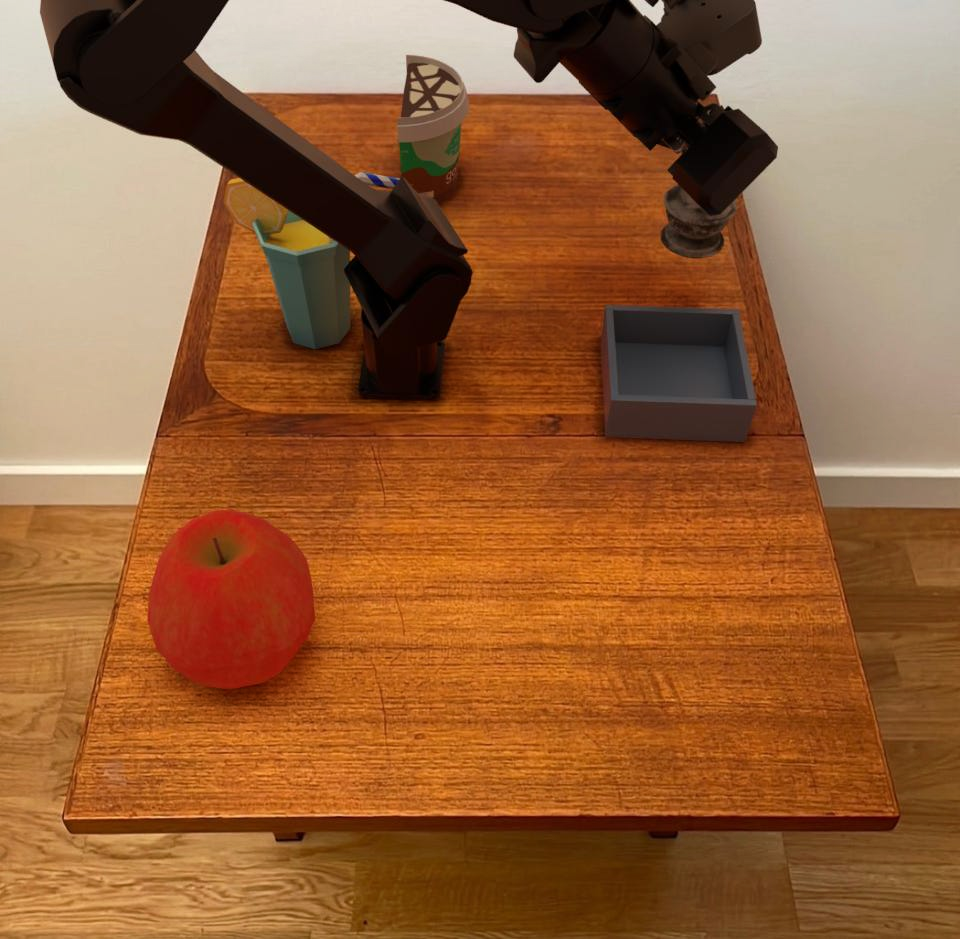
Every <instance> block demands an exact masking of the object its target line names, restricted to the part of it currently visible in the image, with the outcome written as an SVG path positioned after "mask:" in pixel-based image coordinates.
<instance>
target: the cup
mask: <svg viewBox="0 0 960 939" xmlns="http://www.w3.org/2000/svg"><path fill="white" fill-rule="evenodd" d="M353 175H354V174H353ZM354 176H356V177H357V178H358V179H360V180H361V181H362V182H364V183H365V184H367V185H368V186H369V187H376V188H383V189H388V190H393V188H394V187H395V185H396V184H397V182H398V181H399V179H400V178H398V177H394V176H393V177H392V176H387V175H382V174H376V173H369V172H363V171H360V172H358V173H356V174H355V175H354ZM222 203H223V205H224V206H225V208H226V209H227V211H228V213H229V214H230V216H231V217H232V219H233V220H234V222H235V223H236V225H239V226H241V227H242V228H244V229H246V230H247V231H250V232H252V233H254V234H255V236H256V238H257V241H258V242H259V245H260V247H261V249H262V251H263V254H264V256H265V259H266V262H267V266H268V268H269V272H270V275H271V278H272V282H273V285H274V289H275V291H276V292H275V293H276V295H277V298H278V302H279V305H280V308H281V312H282V315H283V318H284V321H285V325H286V328H287V331H288V333H289V335H290V338H291V340H292V342H293V344H296V345H300V346H303V347H305V348H310V349H312V350H318V349H322V348H326V347H330V346H335V345H338V344H340V343H341V341H342V340H343V339H344V338H345V336H346V335H347V334H348V332H349V331H350V330H351V285H350V283H349V281H348V279H347V277H346V275H345V273H344V268H345V267H346V266H347V265H348V263H349V262H350V261H351V251H350V250H348V249H347V248H345V247H344V246H342V245H341V244H339V243H338V242H336V241H334V240H333V239H331V238H330V237H328V236H327V235H325V234H324V233H322V232H321V231H319V230H318V229H316V228H315V227H313V226H312V225H310V224H309V223H307V222H306V221H304V220H303V219H301V218H300V217H298V216H297V215H295V214H293V213H292V212H290V211H289V210H287V209H286V208H284V207H283V206H281V205H280V204H278V203H277V202H275V201H274V200H272V199H271V198H269V197H268V196H266V195H265V194H263V193H262V192H260V191H259V190H257V189H256V188H254V187H252V186H251V185H249V184H248V183H246V182H245V181H243V180H242V179H240V178H239V177H237V178H232V179H230V180H229V181H228V182H227V183H226V187H225V191H224V196H223V201H222Z"/></svg>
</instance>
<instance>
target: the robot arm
mask: <svg viewBox="0 0 960 939" xmlns="http://www.w3.org/2000/svg"><path fill="white" fill-rule="evenodd" d="M229 1H230V0H40V4H39V15H40V19H41V22H42V26H43V31H44V34H45V37H46V41H47V45H48V49H49V53H50V57H51V61H52V64H53V68H54V72H55V76H56V79H57V81H58V84H59V86H60V89H61V90H62V92H63V93H64V94H65V95H66V97H67V98H68V99H69V100H70V101H71V102H73V104H75V105H76V106H77V107H79V108H80V109H82V110H83V111H86V112H88V113H89V114H91V115H94V116H96V117H99V118H101V119H103V120H105V121H107V122H110V123H112V124H115V125H117V126H119V127H120V128H121V127H122V128H124V129H126V130H128V131H131V132H133V133H135V134H137V135H140V136H145V137H152V138H153V137H154V138H160V139H167V140H173V141H179V142H182V143H184V144H187V145H189V146H190V147H191V148H193V149H195V150H196V151H198V152H199V153H200V154H203V155H204V156H205V157H207V158H209V159H210V160H211V161H213V162H215V163H216V164H217V165H219V166H221V167H222V168H223V169H225V170H226V171H228V172H229V173H231V174H233V175H234V176H235V177H237V178H240V179H242V180H243V181H245V182H246V183H248V184H249V185H251V186H252V187H254V188H256V189H257V190H259V191H260V192H262V193H263V194H265V195H266V196H268V197H269V198H271V199H272V200H274V201H275V202H277V203H278V204H280V205H281V206H283V207H284V208H286V209H287V210H289V211H290V212H292V213H293V214H295V215H297V216H298V217H300V218H301V219H303V220H304V221H306V222H307V223H309V224H310V225H312V226H313V227H315V228H316V229H318V230H319V231H321V232H322V233H324V234H325V235H327V236H328V237H330V238H331V239H333V240H334V241H336V242H338V243H339V244H341V245H342V246H344V247H345V248H347V249H348V250H350V253H351V254H353V257H352V258H351V259H350V262H349V263H348V265H347V266H346V267H345V268H344V273H345V275H346V277H347V279H348V281H349V283H350V288H351V289H352V291H353V293H354V295H355V297H356V299H357V301H358V303H359V306H360V307H361V312H360V319H361V328H362V336H363V338H362V339H363V346H364V347H363V348H364V352H363V358H362V364H361V370H360V375H359V381H358V386H357V387H358V388H357V394H358V396H359V398H366V399H387V400H388V399H389V400H390V399H391V400H393V399H394V400H415V401H416V400H417V401H418V400H419V401H437V400H439V399H440V398H441V394H442V382H443V372H444V361H445V350H446V344H445V340H446V339H447V338H448V335H449V332H450V330H451V327H452V324H453V322H454V319H455V316H456V314H457V312H458V310H459V307H460V304H461V301H462V300H463V299H464V297H465V296H466V295H467V294H468V291H469V289H470V287H471V284H472V276H473V275H474V273H473V269H472V266H471V265H470V263H469V261H468V260H467V258H466V257H465V255H466V254H467V253H468V252H469V251H468V248H467V247H466V245H465V244H464V242H463V241H462V239H461V238H460V236H459V234H458V233H457V232H456V230H455V228H454V227H453V225H452V223H451V222H450V220H449V219H448V218H447V216H446V214H445V212H444V211H443V210H442V208H441V206H440V205H439V202H436V200H435V199H430V198H426V197H424V196H422V195H420V194H419V193H417V192H416V191H415V190H414V189H413V187H412V186H411V185H410V184H409V183H408V181H407V180H406V179H405V178H404V177H400V178H398V179H399V181H398V182H397V184H396V185H395V187H394V188H393V189H391V190H383V189H376V188H374V187H372V186H369V185H367V184H365V183H364V182H362V181H361V180H360V179H358V178H357V177H356V176H354V174H353V173H352V172H351V171H349V170H348V169H346V168H345V167H344V166H342V165H341V164H340V163H338V162H337V161H336V160H334V159H333V158H331V157H330V156H329V155H327V154H326V153H325V152H324V151H322V150H321V149H319V148H318V147H317V146H315V145H314V144H313V143H311V142H310V141H309V140H307V139H306V138H305V137H303V136H302V135H300V134H299V133H298V132H296V131H295V130H294V129H293V128H291V127H289V126H288V124H286V123H284V122H283V121H282V120H280V119H279V118H277V117H276V116H275V115H273V114H272V113H271V112H270V111H268V110H267V109H266V108H264V107H263V106H262V105H260V104H258V103H257V102H256V101H254V100H253V98H251V97H249V96H248V95H246V94H245V93H244V92H243V91H242V90H240V89H239V88H237V87H236V86H234V85H233V84H232V83H230V82H229V81H227V79H226V78H223V77H222V76H221V75H219V74H218V73H217V72H216V71H214V70H213V69H212V68H211V67H210V66H209V65H208V64H207V62H206V61H205V60H204V59H203V57H202V56H201V55H200V54H199V52H197V49H198V47H199V46H200V45H201V43H202V41H203V40H204V38H205V37H206V35H207V34H208V32H209V30H210V29H211V28H212V27H213V25H214V23H215V22H216V21H217V18H218V17H219V16H220V15H221V13H222V11H224V8H225V7H226V6H227V4H228V3H229ZM443 1H444V2H447V3H451V4H454V5H456V6H458V7H461V8H463V9H465V10H467V11H469V12H471V13H473V14H476V15H478V16H480V17H482V18H485V19H486V20H489V21H491V22H495V23H498V24H502V25H505V26H509V27H512V28H515V29H516V33H517V39H516V42H515V43H514V44H515V45H514V51H513V58H514V59H515V61H516V62H517V63H518V64H519V65H520V66H521V67H522V69H523V70H524V71H525V72H526V73H527V74H528V76H529V77H530V78H531V79H532V80H533V81H534V82H535V83H536V84H541V83H543V82H544V81H545V80H546V78H547V77H548V76H549V75H550V74H551V73H552V72H553V71H554V69H555V68H556V67H557V66H558V64H560V65H562V67H563V68H564V69H565V70H566V71H567V72H569V73H570V74H571V75H572V76H573V77H574V78H575V80H577V81H578V83H579V85H580V86H581V87H582V88H584V90H585V91H586V92H588V94H589V95H590V96H591V97H592V98H593V99H594V100H595V101H596V102H597V103H598V104H599V105H600V106H601V107H602V108H603V109H604V110H605V111H608V112H609V113H610V114H611V115H612V116H613V117H614V118H615V119H616V120H617V121H618V122H619V123H620V124H621V125H622V126H623V127H624V128H625V130H627V132H629V133H630V134H631V135H632V136H633V137H634V138H636V139H637V140H638V141H639V142H640V143H641V144H642V145H643V146H644V147H645V148H646V149H648V151H649V152H651V151H652V150H653V149H654V148H655V147H656V146H657V145H658V146H661V147H664V148H666V149H670V150H672V151H673V152H674V153H675V154H677V155H679V154H680V155H679V156H678V157H677V159H676V160H675V161H674V162H673V163H672V164H671V165H670V166H669V167H668V168H667V170H666V171H667V172H668V173H669V174H670V175H671V176H672V180H673V181H674V182H675V183H676V185H677V184H678V185H679V186H680V187H681V188H682V189H683V190H684V191H685V192H686V193H687V194H688V195H689V196H690V197H691V198H692V199H693V200H694V201H695V202H696V203H697V204H698V205H699V206H700V207H701V208H702V209H703V210H704V211H705V212H706V213H707V214H708V215H709V216H714V215H720V214H721V213H722V212H723V211H724V210H725V209H726V208H727V207H728V206H729V205H730V204H731V203H732V202H733V201H734V200H735V201H736V200H737V199H738V197H739V196H740V195H741V194H742V193H743V192H744V191H745V190H746V189H747V188H748V187H749V186H750V185H751V184H752V183H753V182H754V181H756V179H757V178H758V177H759V176H760V175H761V174H762V173H763V172H764V171H765V170H766V169H767V168H768V167H769V166H771V164H772V163H773V162H774V161H775V160H776V159H777V157H778V151H779V146H778V144H777V143H776V142H775V140H773V138H772V137H770V135H769V134H768V132H766V131H765V130H764V129H763V128H762V127H760V125H758V124H757V123H756V122H755V121H754V120H752V119H751V118H750V117H749V116H748V115H747V114H746V113H744V112H743V110H741V109H740V108H734V109H733V108H732V107H731V106H730V105H726V107H724V110H723V109H722V108H721V107H720V105H719V104H718V103H716V102H712V103H709V104H707V105H703V104H702V103H701V102H704V101H705V100H706V99H707V98H708V97H709V96H710V95H711V94H712V93H713V92H714V90H716V89H717V86H716V85H715V83H714V82H713V81H712V80H711V78H709V76H710V77H711V76H715V75H717V74H719V73H721V72H722V71H723V70H725V69H727V68H728V67H730V66H731V65H732V64H734V63H737V61H739V60H740V59H741V58H743V57H745V56H747V55H752V54H753V53H754V52H756V51H757V50H759V49H760V47H761V46H762V44H763V38H762V33H761V26H760V21H759V15H758V10H757V3H756V1H755V0H644V1H645V2H646V3H647V4H648V5H649V6H650V7H651V8H655V6H656V5H657V4H658V3H659V2H660V1H661V2H662V3H663V8H662V9H663V15H662V16H661V18H660V22H658V23H657V24H655V23H654V22H653V21H652V20H651V19H650V18H649V17H648V16H647V15H646V14H644V15H643V14H642V12H641V11H640V10H639V9H638V7H637V6H635V4H634V3H633V2H632V1H631V0H443ZM699 100H700V101H701V102H700V101H699ZM700 120H702V121H703V122H704V123H703V122H702V121H700Z"/></svg>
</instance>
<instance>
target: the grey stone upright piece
mask: <svg viewBox="0 0 960 939" xmlns="http://www.w3.org/2000/svg"><path fill="white" fill-rule="evenodd" d="M719 106H720V107H721V108H722V109H723V110H724V109H725V107H724V106H723V104H720V105H719ZM699 120H700V121H702V120H701V119H699ZM702 122H703V121H702ZM703 123H704V122H703ZM663 205H664V208H665V214H666V217H667V221H668V222H667V224H666V225H664V226H663V227H662V229H661V230H660V235H659V236H660V241H661V243H662V244H663V246H664V247H665V248H666V249H667V250H668V251H669V252H671V253H673V254H675V255H677V256H680V257H682V258H688V259H696V260H697V259H707V258H711V257H713V256H715V255H718V254H719V253H720V252H721V251H722V250H723V249H724V248H723V247H724V246H725V238H724V235H723V234H722V231H723V230H724V229H725V228H726V227H727V225H728V224H729V222H730V220H731V219H732V218H733V217H735V214H736V213H737V209H738V204H737V202H736V199H735V200H734V201H733V202H732V203H731V204H730V205H729V206H728V207H727V208H726V209H725V210H724V211H723V212H722V213H721V214H720V215H714V216H709V215H708V214H707V213H706V212H705V211H704V210H703V209H702V208H701V207H700V206H699V205H698V204H697V203H696V202H695V201H694V200H693V199H692V198H691V197H690V196H689V195H688V194H687V193H686V192H685V191H684V190H683V189H682V188H681V187H680V186H679V185H678V184H677V183H676V184H675V185H673V186H672V187H670V188H669V189H667V190H666V191H665V194H664V195H663Z"/></svg>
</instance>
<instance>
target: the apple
mask: <svg viewBox="0 0 960 939" xmlns="http://www.w3.org/2000/svg"><path fill="white" fill-rule="evenodd" d="M314 596H315V595H314V588H313V581H312V575H311V571H310V568H309V563H308V558H306V556H305V554H304V552H303V551H302V549H301V548H300V547H299V545H298V544H297V543H296V542H295V541H294V540H293V539H292V538H291V536H289V535H287V534H286V533H285V532H283V531H281V529H279V528H277V527H276V526H274V525H273V524H271V523H270V522H268V521H267V520H266V519H264V518H262V517H259V516H257V515H255V514H252V513H247V512H243V511H238V510H234V509H230V508H229V509H215V510H213V511H211V512H208V513H204V514H202V515H200V516H197V517H195V518H192V519H191V520H189V521H188V522H187V523H186V524H184V525H183V526H182V527H181V528H179V529H178V530H176V531H175V532H174V533H173V534H172V535H171V537H170V538H169V540H168V541H167V543H166V545H165V546H164V548H163V549H162V551H161V553H160V555H159V558H158V559H157V563H156V567H155V570H154V573H153V578H152V581H151V584H150V588H149V592H148V603H147V623H148V627H149V631H150V634H151V637H152V639H153V643H154V645H155V648H156V650H157V652H158V653H159V654H160V655H161V656H162V657H163V658H164V659H165V661H166V662H167V663H168V664H169V665H170V666H171V667H172V668H173V669H174V670H175V671H176V672H178V673H179V674H181V675H182V676H184V677H185V678H187V679H188V680H190V681H191V682H193V683H196V684H199V685H202V686H205V687H208V688H209V687H210V688H218V689H223V690H234V689H240V688H244V687H248V686H254V685H259V684H263V683H266V682H267V681H269V680H270V679H272V678H274V677H275V676H277V675H279V674H280V673H281V672H282V671H283V670H284V669H285V668H286V667H287V666H288V664H289V663H290V662H291V660H292V659H293V658H294V656H295V655H296V653H297V652H298V651H299V650H300V648H301V646H302V645H303V644H304V642H306V640H307V639H308V636H309V635H310V633H311V630H312V627H313V626H314V623H315V621H316V614H315V613H316V612H315V611H316V610H315V597H314Z"/></svg>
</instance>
